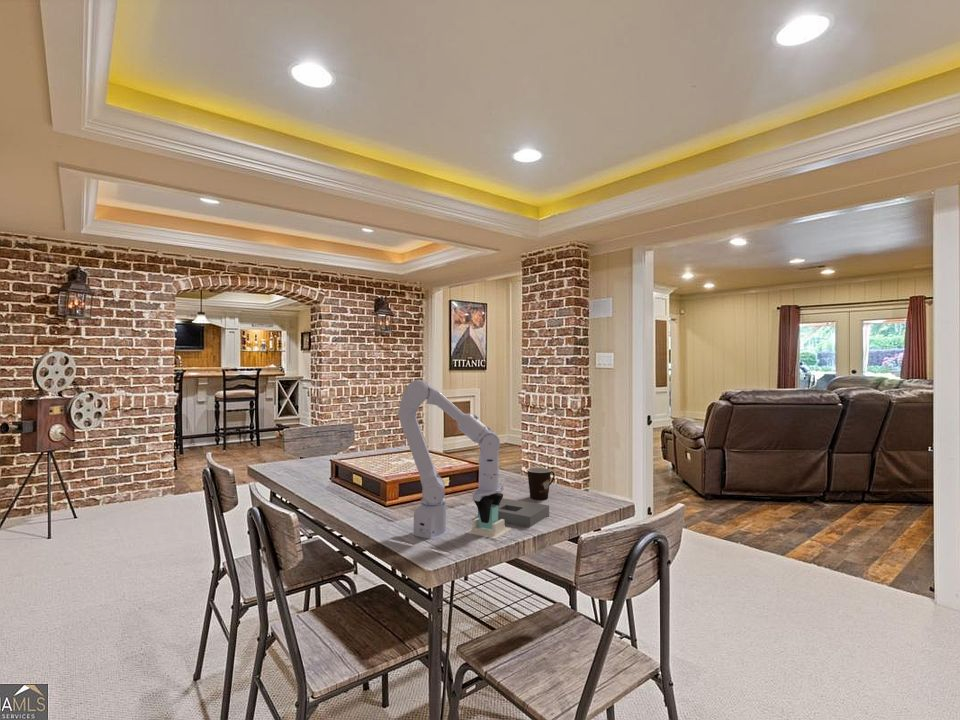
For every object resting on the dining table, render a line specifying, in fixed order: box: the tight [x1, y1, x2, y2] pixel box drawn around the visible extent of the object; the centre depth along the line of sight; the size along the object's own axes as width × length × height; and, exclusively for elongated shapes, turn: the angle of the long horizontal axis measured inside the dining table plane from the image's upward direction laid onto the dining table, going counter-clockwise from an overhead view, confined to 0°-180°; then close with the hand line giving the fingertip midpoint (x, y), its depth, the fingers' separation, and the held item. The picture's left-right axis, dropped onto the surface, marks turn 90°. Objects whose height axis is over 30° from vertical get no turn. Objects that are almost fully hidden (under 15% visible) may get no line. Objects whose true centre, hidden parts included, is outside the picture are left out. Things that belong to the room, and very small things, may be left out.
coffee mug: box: [526, 467, 556, 501], centre depth 188 cm, size 12×9×10 cm
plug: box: [479, 504, 498, 529], centre depth 150 cm, size 4×4×6 cm
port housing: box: [477, 497, 550, 528], centre depth 164 cm, size 14×18×4 cm
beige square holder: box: [464, 516, 512, 539], centre depth 150 cm, size 10×10×4 cm
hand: (488, 520), depth 150 cm, fingers closed on plug, 3 cm apart
